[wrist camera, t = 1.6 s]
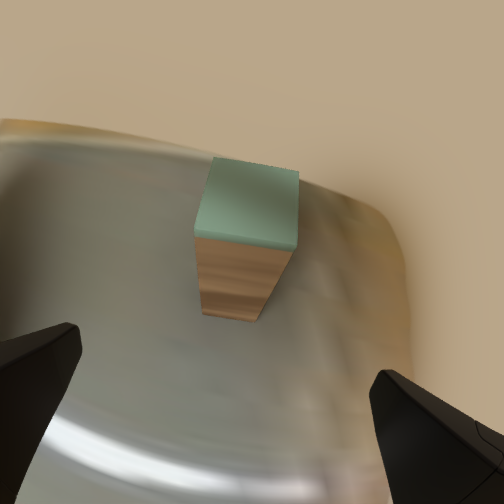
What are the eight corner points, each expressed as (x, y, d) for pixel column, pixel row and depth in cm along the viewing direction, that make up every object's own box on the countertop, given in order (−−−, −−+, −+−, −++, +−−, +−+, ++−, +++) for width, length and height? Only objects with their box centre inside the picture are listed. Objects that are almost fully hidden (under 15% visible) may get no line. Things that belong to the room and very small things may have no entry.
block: (254, 322, 21) (297, 245, 11) (202, 314, 21) (193, 228, 11) (259, 274, 23) (298, 171, 13) (211, 267, 23) (213, 157, 13)
